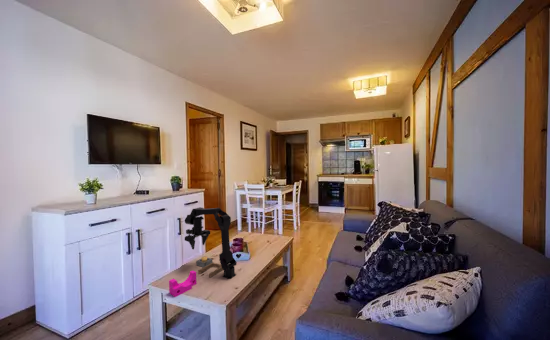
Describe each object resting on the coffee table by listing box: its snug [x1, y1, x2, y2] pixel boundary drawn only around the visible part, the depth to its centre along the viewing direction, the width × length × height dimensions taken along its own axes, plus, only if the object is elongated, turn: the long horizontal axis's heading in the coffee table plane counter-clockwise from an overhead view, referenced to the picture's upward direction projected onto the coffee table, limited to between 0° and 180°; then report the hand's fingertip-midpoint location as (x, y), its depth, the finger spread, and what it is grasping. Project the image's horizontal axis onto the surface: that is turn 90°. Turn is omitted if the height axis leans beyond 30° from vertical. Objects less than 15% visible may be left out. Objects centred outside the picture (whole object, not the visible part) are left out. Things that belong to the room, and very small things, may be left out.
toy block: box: [168, 270, 198, 298], centre depth 131 cm, size 15×6×8 cm, turn 142°
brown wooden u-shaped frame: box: [197, 262, 224, 279], centre depth 152 cm, size 11×14×2 cm
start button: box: [201, 256, 208, 262], centre depth 164 cm, size 4×4×3 cm
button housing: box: [195, 257, 214, 268], centre depth 164 cm, size 8×8×3 cm
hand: (198, 247), depth 159 cm, fingers open, 9 cm apart
